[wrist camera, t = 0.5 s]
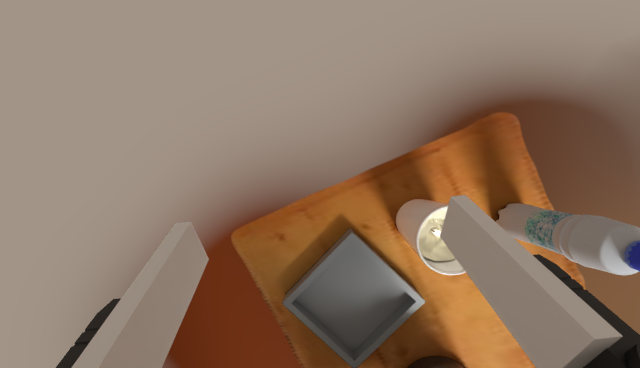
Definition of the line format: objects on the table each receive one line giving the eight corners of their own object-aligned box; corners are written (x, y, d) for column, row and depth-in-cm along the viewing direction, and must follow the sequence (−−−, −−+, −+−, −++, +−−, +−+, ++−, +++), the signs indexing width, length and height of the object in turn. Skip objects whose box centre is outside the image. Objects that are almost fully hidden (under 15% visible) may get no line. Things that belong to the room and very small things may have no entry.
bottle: (513, 242, 43) (678, 307, 23) (483, 224, 43) (622, 274, 23) (534, 212, 42) (721, 251, 22) (504, 193, 42) (664, 217, 22)
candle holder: (416, 256, 43) (451, 289, 31) (380, 220, 43) (401, 240, 31) (454, 220, 43) (504, 240, 31) (418, 183, 42) (454, 190, 30)
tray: (418, 292, 44) (425, 301, 41) (352, 356, 45) (354, 369, 42) (350, 227, 43) (351, 232, 40) (284, 294, 45) (282, 303, 42)
